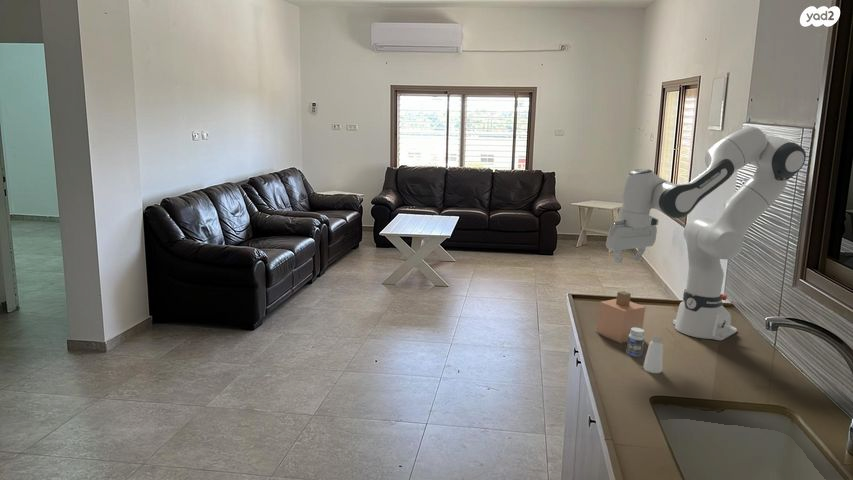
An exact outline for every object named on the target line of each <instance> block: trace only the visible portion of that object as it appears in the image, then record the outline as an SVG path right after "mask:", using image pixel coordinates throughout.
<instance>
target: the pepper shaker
mask: <svg viewBox="0 0 853 480" xmlns="http://www.w3.org/2000/svg"><path fill="white" fill-rule="evenodd" d="M662 340H663V335H662V334H661V333H652V334H651V341H649V343H648V347H647V351H646V354H645V358H644V362H643V366H642V368H643V370H645V372H648V373H650V374H651V373H652V374H660V373H662V372H663V357H664V344H663V343H662Z"/></svg>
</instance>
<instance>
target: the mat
mask: <svg viewBox="0 0 853 480" xmlns="http://www.w3.org/2000/svg"><path fill="white" fill-rule="evenodd" d="M594 333H595V334H597V335H599V336H602V337H604V338H606V339H608V340H611V341H613V342H615V343H618V344H620V345H622V344H628V341H626V342H622V343H620V342H617V341H615V340H613V339H611V338H608V337H606V336H604V335H602V334H599V333H597V330H596V331H594Z"/></svg>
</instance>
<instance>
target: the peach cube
mask: <svg viewBox="0 0 853 480" xmlns="http://www.w3.org/2000/svg"><path fill="white" fill-rule="evenodd" d="M631 295H632V294H631V292H629V291H625V290H622V291H617V294H616V298H613V299H608V300H604V301H603V300H602V301H600V303H599V310H598V316H597V325H596V326H597V327H596V331H597V333H599V334H602V335H604V336H606V337H608V338H611V339H613V340H615V341H617V342H620V343H622V342H626V341H628V337H629V334H631V333H630V331H631V328H634V327H635V328H641V329H643V326H644V318H645V311H646V307H645V306H643V305H641V304H638V303H636V302H633V301H631ZM597 333H596V334H597ZM599 334H598V335H599ZM604 336H603V337H604ZM606 337H605V338H606ZM608 338H607V339H608ZM613 340H612V341H613ZM615 341H614V342H615ZM617 342H616V343H617Z"/></svg>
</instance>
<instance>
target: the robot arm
mask: <svg viewBox="0 0 853 480" xmlns="http://www.w3.org/2000/svg"><path fill="white" fill-rule="evenodd" d="M806 158H807V154H806V150H805V149H804V148H803V147H802V146H801V145H800V144H798V143H796V142H793V141H789V140H788V139H785V138H782V137H779V136H774V135H768V134H765V133H764V131H762V130H761V129H760V128H758V127H755V126H747V127H744V128H741V129H739V130H737V131H734V132H732V133H730V134H728V135H727V136H725V137H723V138H722V139H720V140H718V141H717V142H715V143H714V144H713V145H711V146H710V147H709V148H708V149H707V150H706V152H705V156H704V163H705V165H706V168H707V169H706V170H704V171H703V172H701V173H700V174H699V175H697V176H696V177H694V178H693V179H692V180H691V181H689V182H687V183H682V184H681V183H680V184H678V183H674V182H672V181H668V180H666V179H664V178H662V177H660V176H659V175H657V174H656V173H655V172H654V171H653V170H652V169H649V168H644V169H643V168H637V169H633V170H632V171H630V172H629V173H628V174H626V175H627V176H626V178H625V182H624V186H623V192H622V193H623V194H622V201H623V202H622V205H621V208H620V214H619V220H615V221H613V222H612V224H611V225H610V228H609V230H608V232H607V237H606V242H605V247H606V249H608V250H611V251H613V255H614V262H615V263H617V264H621V263H623V260H624V259H623V258H624V257H623V256H621V253H623V250H631V249H637V252H636V254H634V261H642V259H643V255H644V253H645V251H646V248H650V247H653V246H654V245H655V242H656V238H657V233H658V231H657V230H658V227H657V226H658V225H659V219H658V218H656V217H653V216H651V214H650V211H651V210H652V209H654V210H656V211H659V212H662V213H664V214H665V215H667V216H668V217H670V218H673V219H674V218H675V219H681V218H685V217H686V216H688V215H690V213H691V212H692V211H693V210H694V209H695V208H696V206H698V204H699V202H700V201H702V200H703V199H705V198H706V197H707V196H708V195H709V194H711V193H713V192H714V191H715V190H717V189H718V188H719V187H720V186H722V185H723V184H724V183H726V182H727V181H728V180H729V179H730V178H731V177H732V176H733V175H734V174H735V173H736V172H737V171H739V170H740V169H742V168H744V167H746V166H747V165H748V164H749V165H753V166H754V167H757V168H756V170H755V172H754V174H753V176H751V177H750V178H748V179H747V180H746V181H745V182H744V183H743V184H742V185H741V186H740V187H738V188H737V190H736V191H734V192H733V193H732V194H731V195H730V196H729V197H728V198H727V199H726V200H725V202H724V204H723V211H722V212H721V214H720V216H719V217H718V218H717V219H716V220H715V221H714V220H711V219H709V218H702V217H701V218H693V219H691V220H689V221H688V222H687V223H686V224H685V226H684V228H683V236H684V240H685V243H686V247H687V259H688V273H687V281H686V286H685V289H684V291H683V293H682V295H683V296H682V301H681V302H680V303H679V306H678V309H677V313H676V318H675V319H672V323H673V325H674V329H676V331H678V333H679V332H680V333H682V334H683V335H686V336H690V337H694V338H697V339H698V338H699V339H708V340H716V341H723V340H725V339H726V338H729V337H730V336H732V335H733V334H736V333H737V330H738V329H737V328H736V327H735V326H733V325H731V323H732V322H731V321H732V316H731V313H730V312H729V311H728V310H727V309H726V308H725V307H724V306H723V301H724V302H725V301H727V299H728V295H727V294H723V293H722V289H723V282H724V281H723V280H724V275H725V274H724V269H723V268H722V265H721V260H726V261H727V260H732V259H735V258H736V257H737V256H738V255H740V253H741V252H742V250H743V246H744V245H743V244H744V238H745V236H746V234H747V232H748V230H749V229H750V228H751V226H752V225H753V224H754V223H755V222H756V221H757V220H758V219H759V218H760V217H761V216H762V215H763V214H764V213H765V212H766V211H767V210H768V209H769V208H770V207H771V206H772V205H773V204H774V203H775V202H776V201H777V199H778V198H779V197H780V196H781V194H783V192H784V191H785V189H786V188H787V184H788V182H787V181H788V180H789V179H791V178H793V177H794V176H795V175H796V174H797V173H798V172H800V171H801V169H802V168H803V166H804V165H805V163H806Z"/></svg>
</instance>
